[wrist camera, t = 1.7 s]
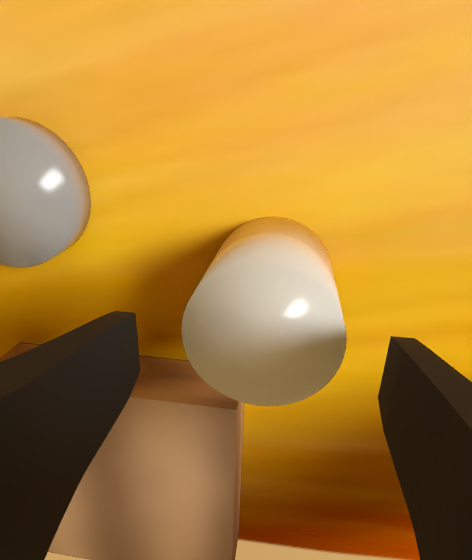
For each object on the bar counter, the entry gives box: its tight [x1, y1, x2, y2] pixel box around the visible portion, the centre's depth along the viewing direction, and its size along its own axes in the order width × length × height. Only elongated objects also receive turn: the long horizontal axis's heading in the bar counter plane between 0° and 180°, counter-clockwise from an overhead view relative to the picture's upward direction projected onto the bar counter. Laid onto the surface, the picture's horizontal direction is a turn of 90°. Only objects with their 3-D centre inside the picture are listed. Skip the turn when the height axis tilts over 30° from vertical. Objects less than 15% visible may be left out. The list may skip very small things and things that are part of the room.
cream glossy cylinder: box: [181, 217, 346, 406], centre depth 14 cm, size 5×5×6 cm
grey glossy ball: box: [0, 117, 91, 267], centre depth 16 cm, size 6×6×2 cm
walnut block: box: [0, 343, 244, 560], centre depth 20 cm, size 12×12×3 cm
